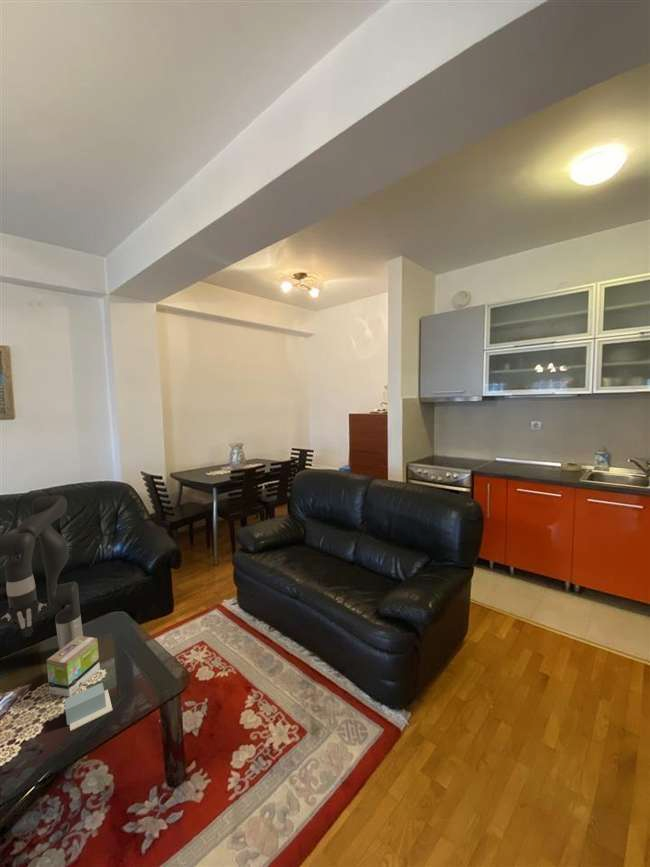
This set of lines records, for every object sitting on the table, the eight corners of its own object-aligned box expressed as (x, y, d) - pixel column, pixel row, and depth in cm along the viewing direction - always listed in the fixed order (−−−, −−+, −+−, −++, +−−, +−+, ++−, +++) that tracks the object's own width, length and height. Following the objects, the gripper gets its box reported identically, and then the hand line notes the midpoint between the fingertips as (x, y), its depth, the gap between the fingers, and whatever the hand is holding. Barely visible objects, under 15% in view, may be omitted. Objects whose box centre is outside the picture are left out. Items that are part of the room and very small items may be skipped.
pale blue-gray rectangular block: (64, 699, 134) (102, 682, 141) (66, 713, 134) (104, 696, 142) (65, 710, 129) (104, 692, 136) (67, 725, 130) (106, 706, 137)
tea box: (70, 697, 142) (66, 663, 140) (49, 694, 144) (44, 660, 142) (101, 668, 157) (97, 637, 155) (81, 666, 159) (77, 634, 157)
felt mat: (68, 708, 137) (68, 707, 137) (107, 690, 145) (107, 689, 145) (70, 731, 128) (70, 730, 128) (112, 710, 136) (112, 709, 136)
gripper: (45, 578, 134) (50, 622, 136) (-3, 592, 126) (3, 638, 128) (45, 587, 128) (51, 633, 130) (-5, 601, 120) (2, 650, 122)
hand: (27, 635), depth 129 cm, fingers closed
